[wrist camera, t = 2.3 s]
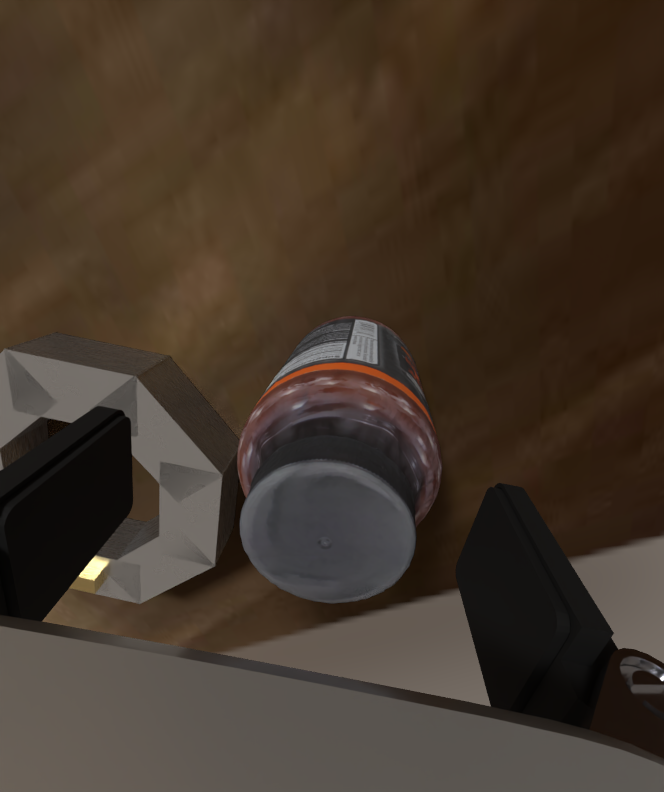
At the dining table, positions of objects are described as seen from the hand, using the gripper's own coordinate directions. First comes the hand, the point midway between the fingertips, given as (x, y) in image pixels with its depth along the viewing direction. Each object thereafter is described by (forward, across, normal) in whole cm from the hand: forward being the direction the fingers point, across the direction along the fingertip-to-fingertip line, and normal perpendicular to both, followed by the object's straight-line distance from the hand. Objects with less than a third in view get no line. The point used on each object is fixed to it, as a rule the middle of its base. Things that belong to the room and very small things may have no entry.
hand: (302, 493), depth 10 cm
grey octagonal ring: (+10, +11, +8) cm, 17 cm away
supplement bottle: (+10, -1, 0) cm, 10 cm away
